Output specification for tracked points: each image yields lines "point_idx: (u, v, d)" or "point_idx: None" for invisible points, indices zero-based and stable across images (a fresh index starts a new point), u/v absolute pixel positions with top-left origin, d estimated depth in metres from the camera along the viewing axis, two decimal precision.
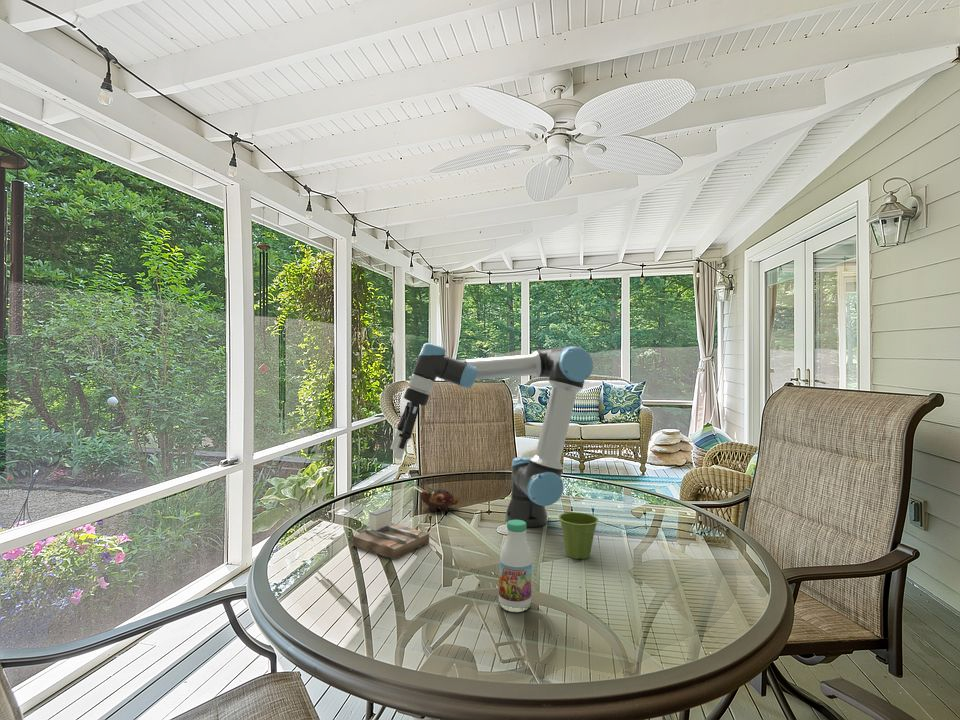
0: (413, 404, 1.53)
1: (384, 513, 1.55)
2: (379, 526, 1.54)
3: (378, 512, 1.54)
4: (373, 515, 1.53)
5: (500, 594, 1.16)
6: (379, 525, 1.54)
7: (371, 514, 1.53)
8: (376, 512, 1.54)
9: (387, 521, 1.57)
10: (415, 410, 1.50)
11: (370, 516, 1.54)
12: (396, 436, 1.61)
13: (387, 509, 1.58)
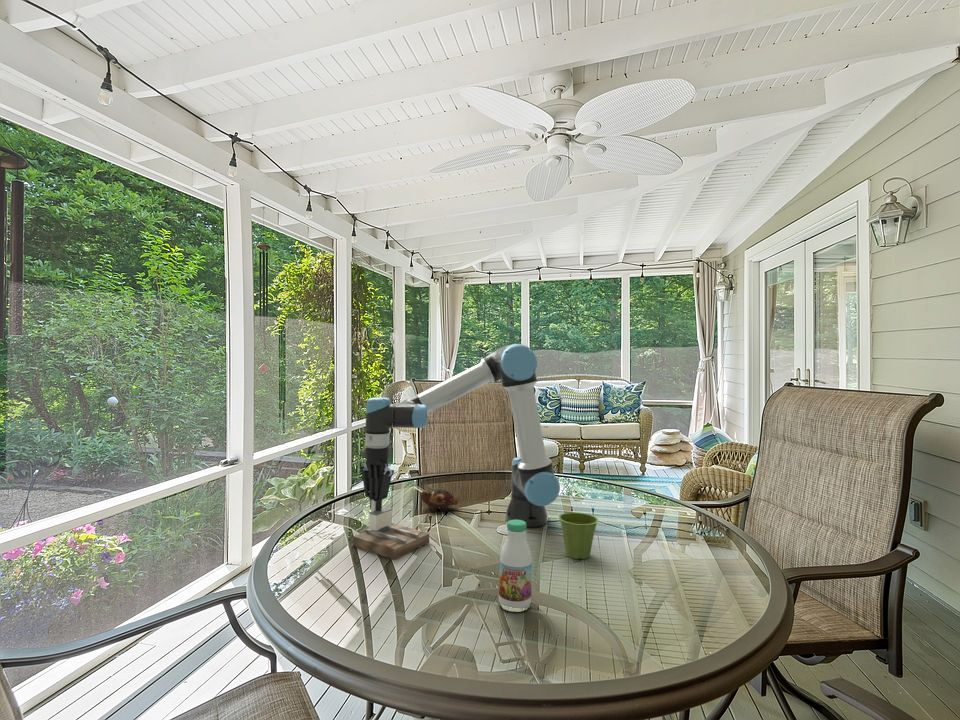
0: (384, 462, 1.55)
1: (384, 513, 1.55)
2: (379, 527, 1.54)
3: (378, 512, 1.54)
4: (373, 515, 1.53)
5: (500, 594, 1.16)
6: (380, 525, 1.54)
7: (371, 514, 1.53)
8: (376, 512, 1.54)
9: (388, 521, 1.57)
10: (391, 474, 1.54)
11: (370, 516, 1.54)
12: None
13: (387, 509, 1.57)
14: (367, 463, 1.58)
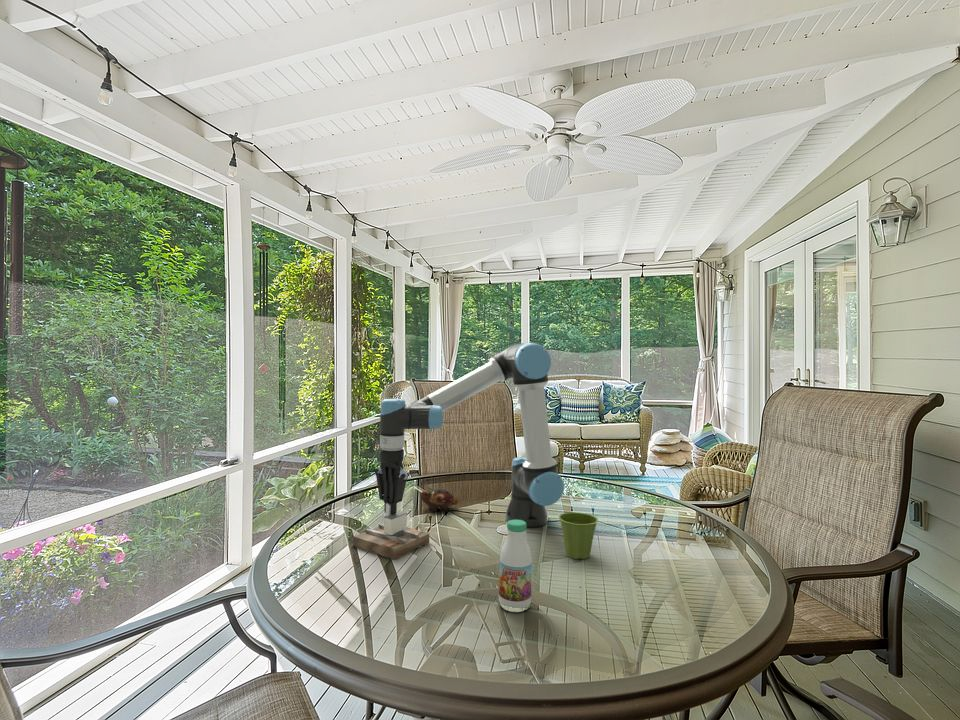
0: (399, 464, 1.51)
1: (399, 517, 1.52)
2: (394, 531, 1.50)
3: (393, 516, 1.51)
4: (388, 519, 1.49)
5: (500, 594, 1.16)
6: (395, 529, 1.50)
7: (386, 518, 1.50)
8: (391, 516, 1.51)
9: (403, 525, 1.53)
10: (406, 477, 1.51)
11: (385, 520, 1.50)
12: None
13: (402, 513, 1.54)
14: (381, 466, 1.54)
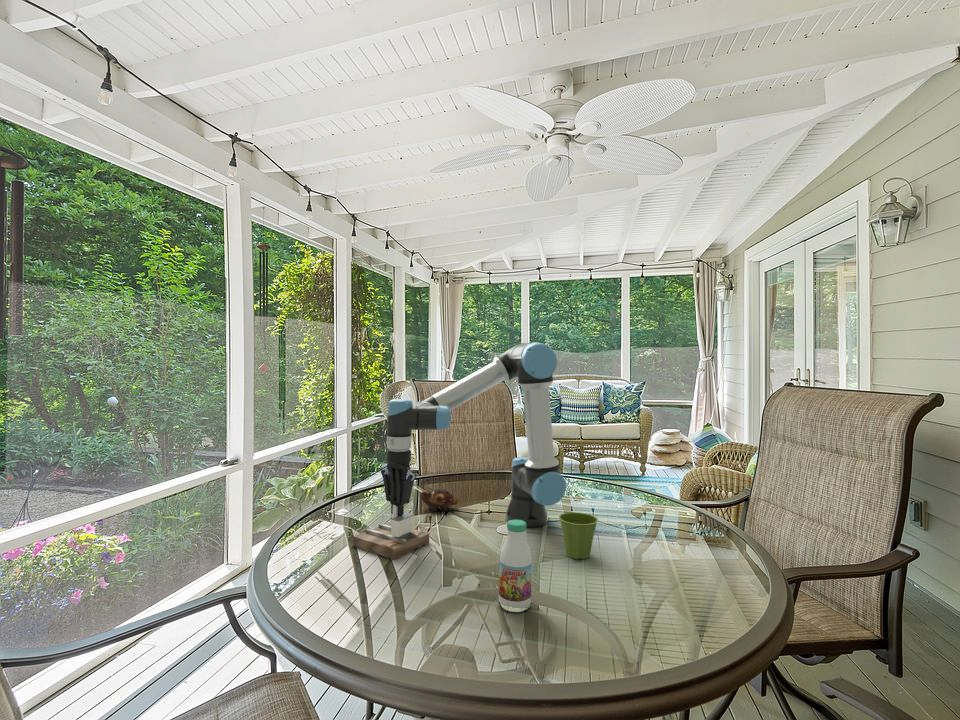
0: (406, 465, 1.50)
1: (406, 519, 1.50)
2: (401, 533, 1.49)
3: (400, 518, 1.49)
4: (396, 521, 1.48)
5: (500, 594, 1.16)
6: (402, 531, 1.49)
7: (393, 520, 1.48)
8: (398, 518, 1.49)
9: (410, 527, 1.52)
10: (413, 478, 1.49)
11: (392, 522, 1.49)
12: None
13: (409, 515, 1.53)
14: (388, 467, 1.53)
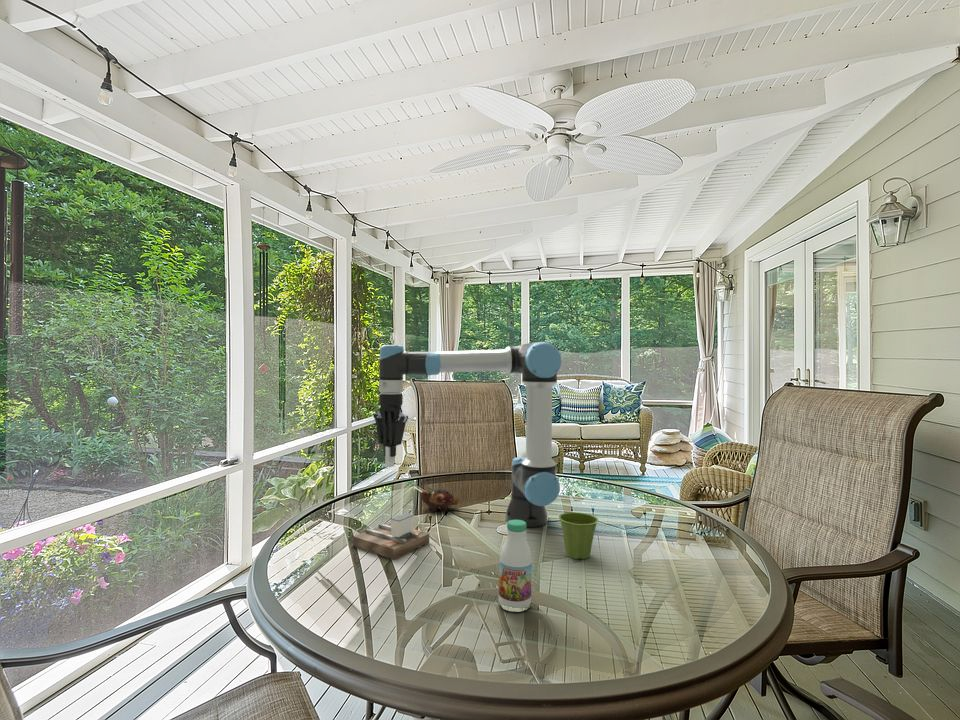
0: (398, 408, 1.55)
1: (406, 519, 1.50)
2: (401, 533, 1.49)
3: (400, 518, 1.49)
4: (396, 521, 1.48)
5: (500, 594, 1.16)
6: (402, 531, 1.49)
7: (393, 520, 1.48)
8: (398, 518, 1.49)
9: (410, 527, 1.52)
10: (405, 420, 1.55)
11: (392, 522, 1.49)
12: None
13: (409, 515, 1.53)
14: (381, 410, 1.58)
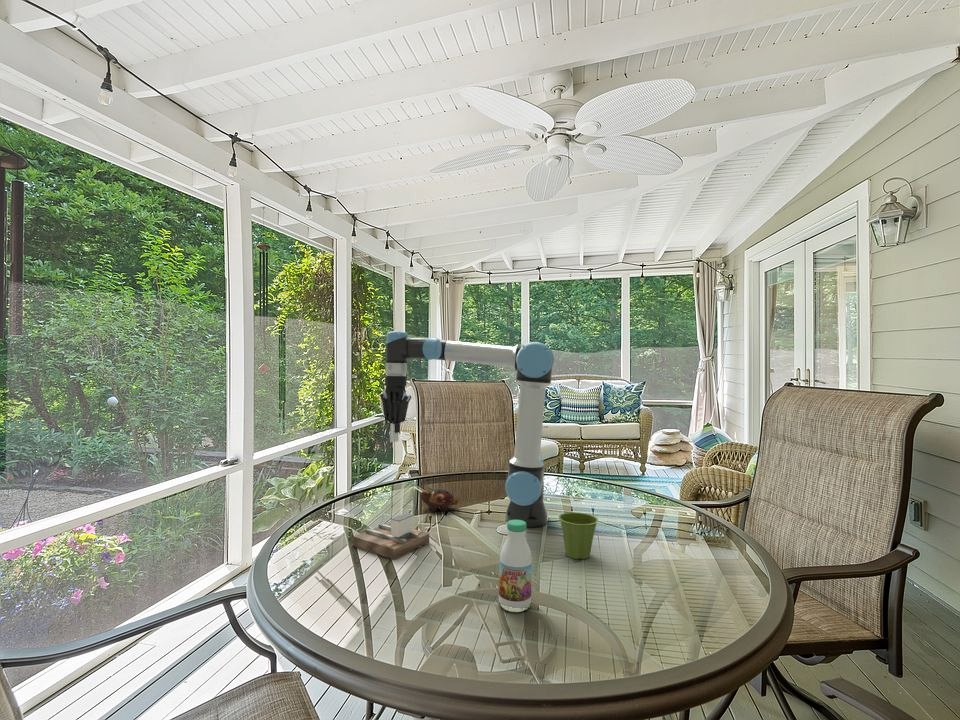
0: (402, 388, 1.72)
1: (406, 519, 1.50)
2: (401, 533, 1.49)
3: (400, 518, 1.49)
4: (396, 521, 1.48)
5: (500, 594, 1.16)
6: (402, 531, 1.49)
7: (393, 520, 1.48)
8: (398, 518, 1.49)
9: (410, 527, 1.52)
10: (408, 399, 1.71)
11: (392, 522, 1.49)
12: None
13: (409, 515, 1.53)
14: (386, 391, 1.75)
